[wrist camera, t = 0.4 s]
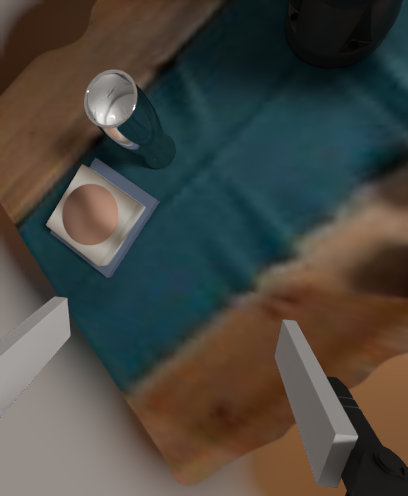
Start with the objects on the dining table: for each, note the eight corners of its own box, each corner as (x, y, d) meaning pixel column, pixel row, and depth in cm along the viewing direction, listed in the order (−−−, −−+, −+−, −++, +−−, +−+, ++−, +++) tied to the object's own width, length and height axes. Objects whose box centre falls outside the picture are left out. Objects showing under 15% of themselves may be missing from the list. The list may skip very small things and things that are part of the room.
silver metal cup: (133, 159, 43) (71, 111, 28) (153, 124, 42) (101, 56, 27) (164, 179, 42) (118, 140, 27) (186, 143, 41) (150, 83, 26)
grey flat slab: (99, 159, 44) (95, 157, 43) (159, 201, 42) (157, 200, 41) (55, 233, 45) (50, 232, 44) (111, 277, 43) (107, 277, 42)
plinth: (93, 170, 43) (81, 163, 40) (146, 207, 41) (137, 203, 38) (59, 226, 44) (44, 224, 41) (108, 265, 42) (97, 266, 39)
